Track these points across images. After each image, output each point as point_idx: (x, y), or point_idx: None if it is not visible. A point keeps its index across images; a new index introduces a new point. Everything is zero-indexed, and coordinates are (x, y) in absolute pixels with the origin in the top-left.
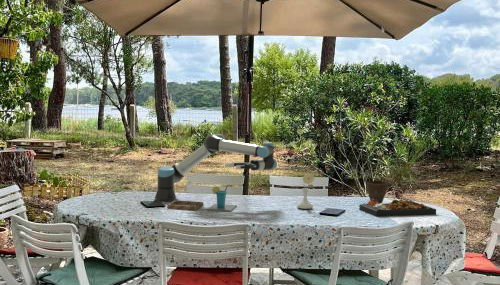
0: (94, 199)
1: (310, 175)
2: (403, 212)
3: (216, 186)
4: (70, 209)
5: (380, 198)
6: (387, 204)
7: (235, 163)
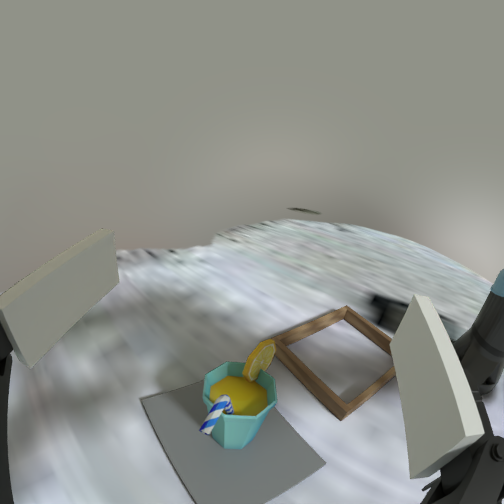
0: (468, 282)
1: None
2: None
3: (262, 345)
4: (384, 236)
5: None
6: None
7: (464, 483)
